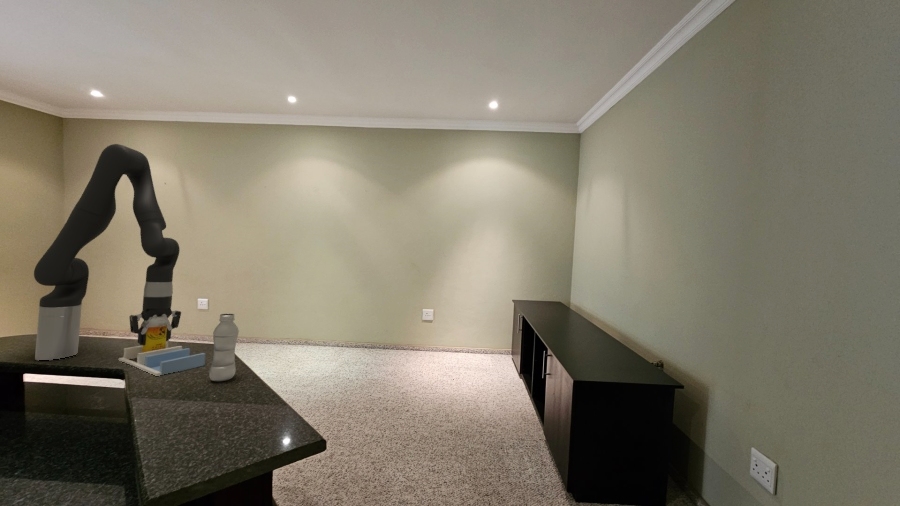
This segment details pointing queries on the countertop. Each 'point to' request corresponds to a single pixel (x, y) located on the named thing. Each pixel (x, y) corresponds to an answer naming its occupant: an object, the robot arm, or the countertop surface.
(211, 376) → the plastic bottle
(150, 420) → the countertop surface
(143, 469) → the countertop surface
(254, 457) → the countertop surface
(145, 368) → the rack
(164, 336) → the beer can
